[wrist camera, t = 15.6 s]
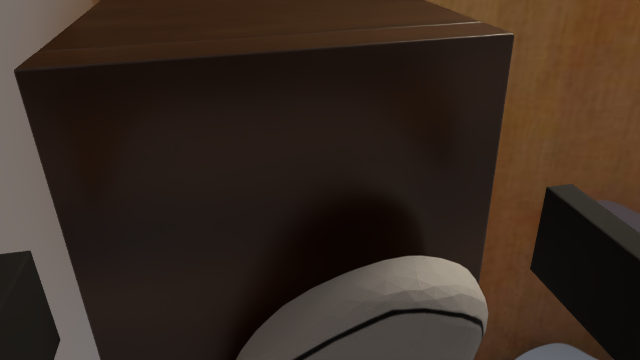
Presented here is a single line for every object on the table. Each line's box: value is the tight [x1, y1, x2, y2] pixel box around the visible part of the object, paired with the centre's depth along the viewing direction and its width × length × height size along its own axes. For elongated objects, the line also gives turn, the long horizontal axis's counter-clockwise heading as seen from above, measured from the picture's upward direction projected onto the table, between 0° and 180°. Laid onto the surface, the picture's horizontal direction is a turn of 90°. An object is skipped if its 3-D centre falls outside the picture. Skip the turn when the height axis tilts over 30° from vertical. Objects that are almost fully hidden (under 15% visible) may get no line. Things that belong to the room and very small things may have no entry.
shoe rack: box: [14, 0, 514, 360], centre depth 37 cm, size 32×14×36 cm, turn 2°
